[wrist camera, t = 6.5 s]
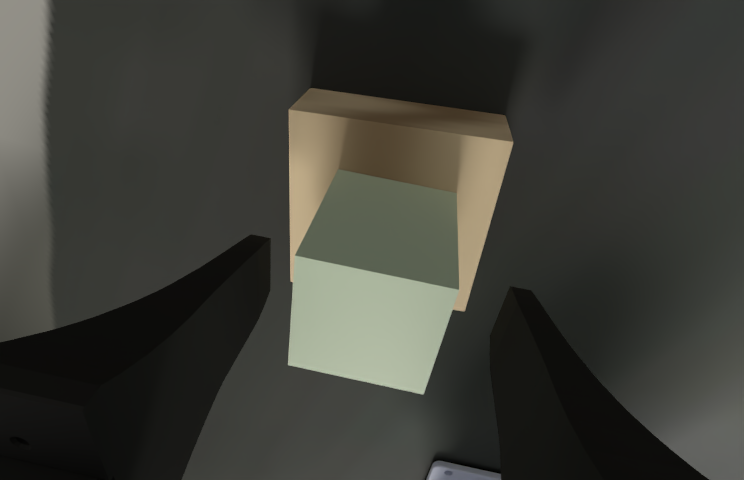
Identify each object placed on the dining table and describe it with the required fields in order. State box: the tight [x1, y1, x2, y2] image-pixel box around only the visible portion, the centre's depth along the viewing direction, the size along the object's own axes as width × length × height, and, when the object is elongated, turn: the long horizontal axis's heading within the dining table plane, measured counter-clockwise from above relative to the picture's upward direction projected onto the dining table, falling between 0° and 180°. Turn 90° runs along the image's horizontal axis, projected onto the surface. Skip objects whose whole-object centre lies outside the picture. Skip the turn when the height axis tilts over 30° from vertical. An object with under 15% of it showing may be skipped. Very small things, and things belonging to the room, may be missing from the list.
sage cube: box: [288, 169, 459, 395], centre depth 14 cm, size 4×4×5 cm
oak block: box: [289, 88, 514, 312], centre depth 17 cm, size 7×7×3 cm
